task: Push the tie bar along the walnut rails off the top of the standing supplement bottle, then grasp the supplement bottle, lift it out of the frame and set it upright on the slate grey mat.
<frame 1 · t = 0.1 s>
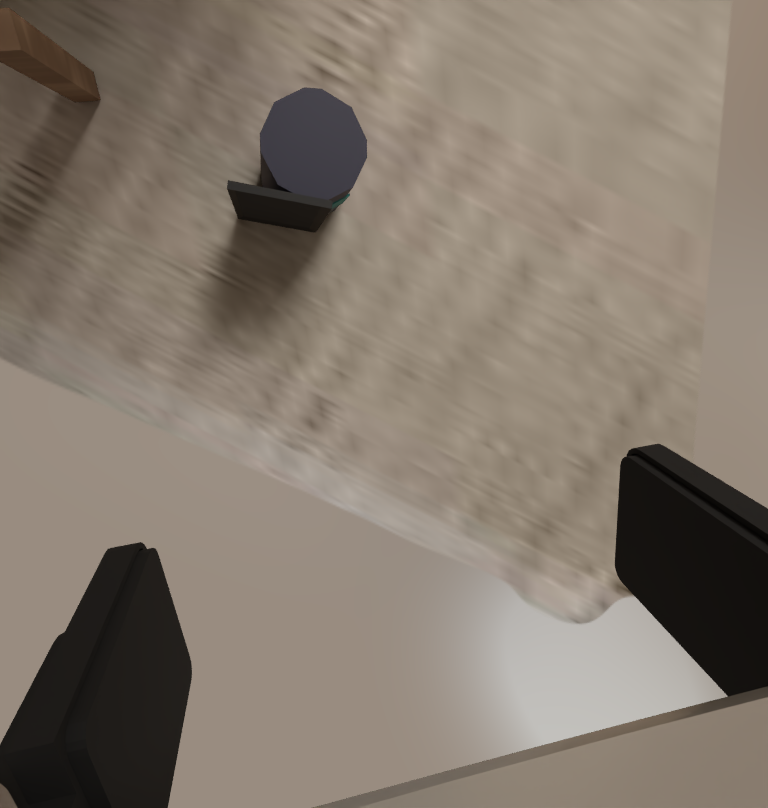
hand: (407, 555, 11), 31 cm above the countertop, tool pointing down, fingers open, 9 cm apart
speaker: (293, 174, 36), on the countertop
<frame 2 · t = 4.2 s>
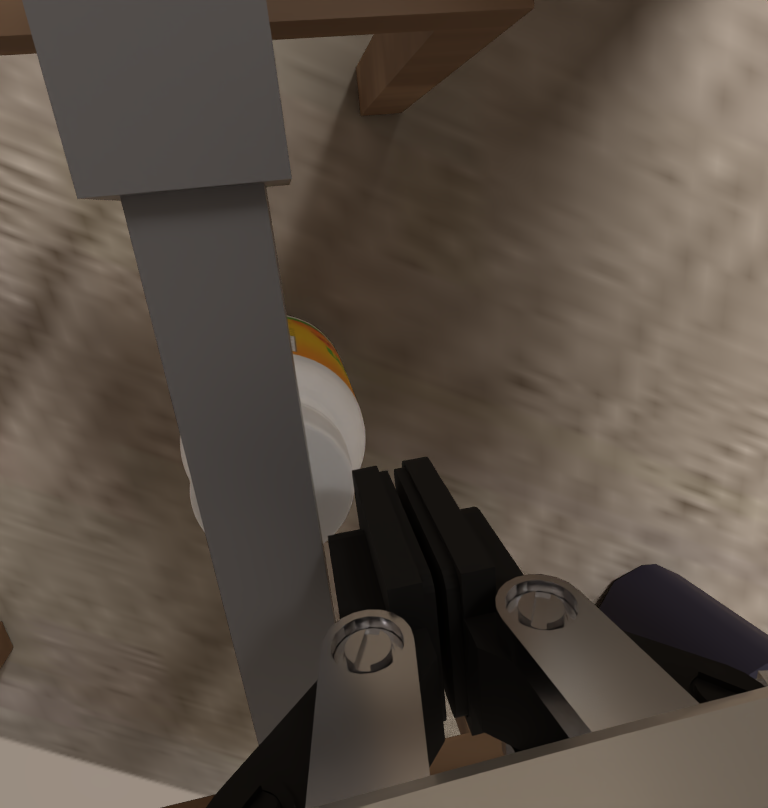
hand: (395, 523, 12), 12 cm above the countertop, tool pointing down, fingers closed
supplement bottle: (277, 375, 22), on the countertop
speaker: (626, 601, 30), on the countertop
tie bar: (272, 559, 11), point 12 cm above the countertop, slide at 0.0 cm, touching gripper
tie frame: (163, 393, 21), on the countertop
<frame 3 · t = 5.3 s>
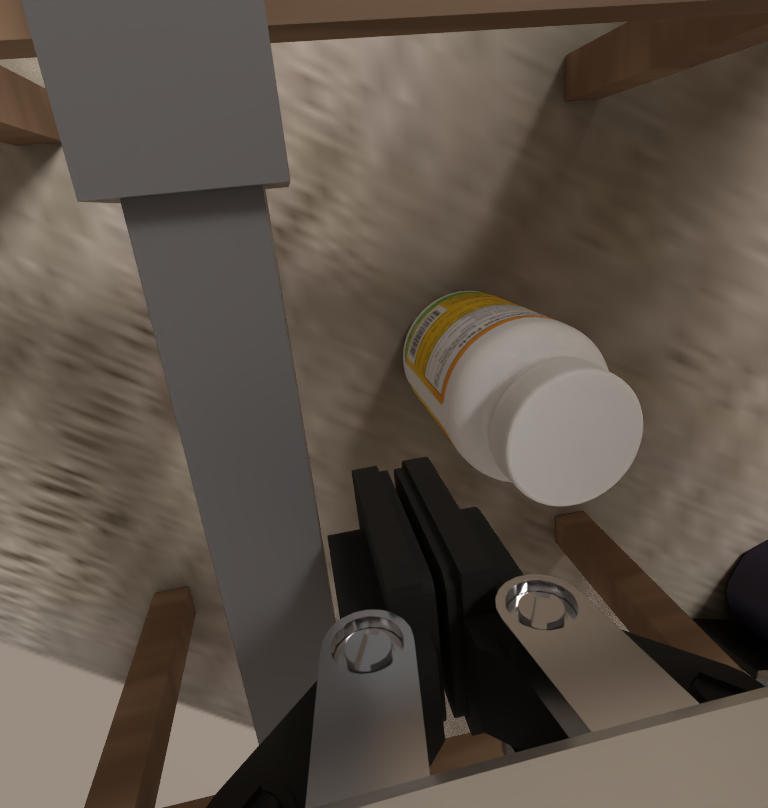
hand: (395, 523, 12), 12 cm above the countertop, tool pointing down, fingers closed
supplement bottle: (460, 350, 23), on the countertop
speaker: (751, 574, 31), on the countertop
tie bar: (272, 560, 11), point 12 cm above the countertop, slide at 7.9 cm, touching gripper
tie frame: (359, 366, 22), on the countertop
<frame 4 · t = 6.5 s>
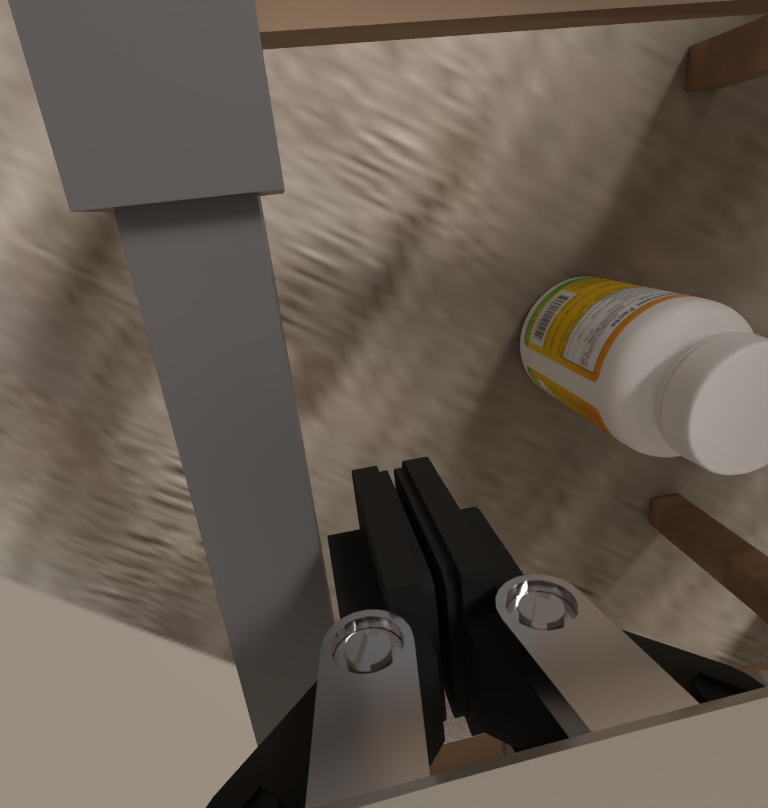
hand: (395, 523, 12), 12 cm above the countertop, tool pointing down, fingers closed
supplement bottle: (571, 335, 24), on the countertop
tie bar: (271, 567, 11), point 12 cm above the countertop, slide at 13.2 cm, touching gripper
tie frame: (477, 351, 23), on the countertop
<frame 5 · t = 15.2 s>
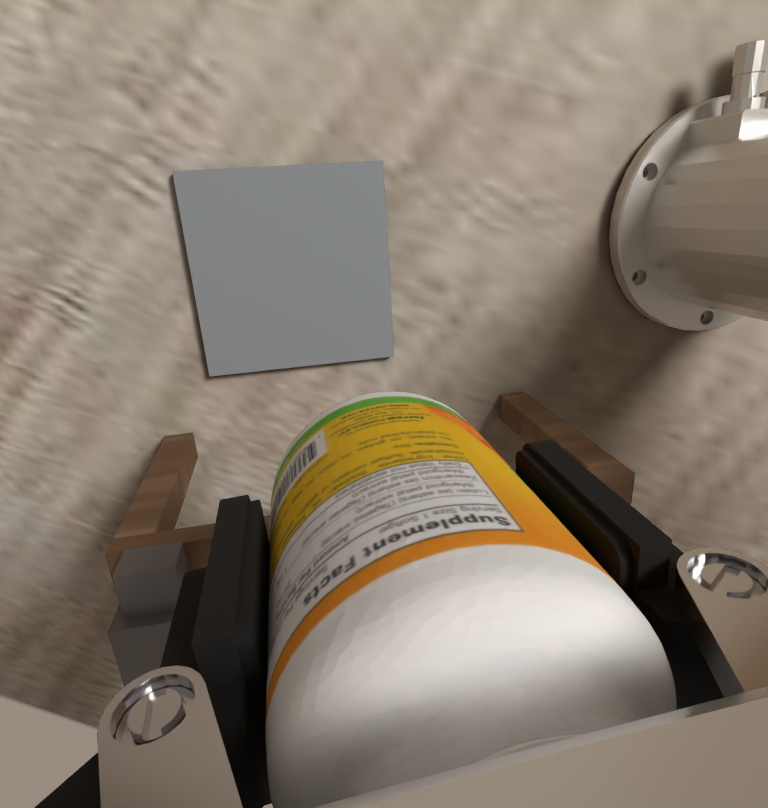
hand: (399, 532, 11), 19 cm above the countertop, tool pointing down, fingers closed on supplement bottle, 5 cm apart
supplement bottle: (381, 485, 13), point 17 cm above the countertop, touching gripper
slate mat: (293, 271, 28), on the countertop
tie bar: (204, 784, 22), point 12 cm above the countertop, slide at 13.2 cm
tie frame: (366, 566, 35), on the countertop
when the fingers open (4 cm above the countertop, at t = 18.9 s): supplement bottle drops 1 cm, resting on slate mat.
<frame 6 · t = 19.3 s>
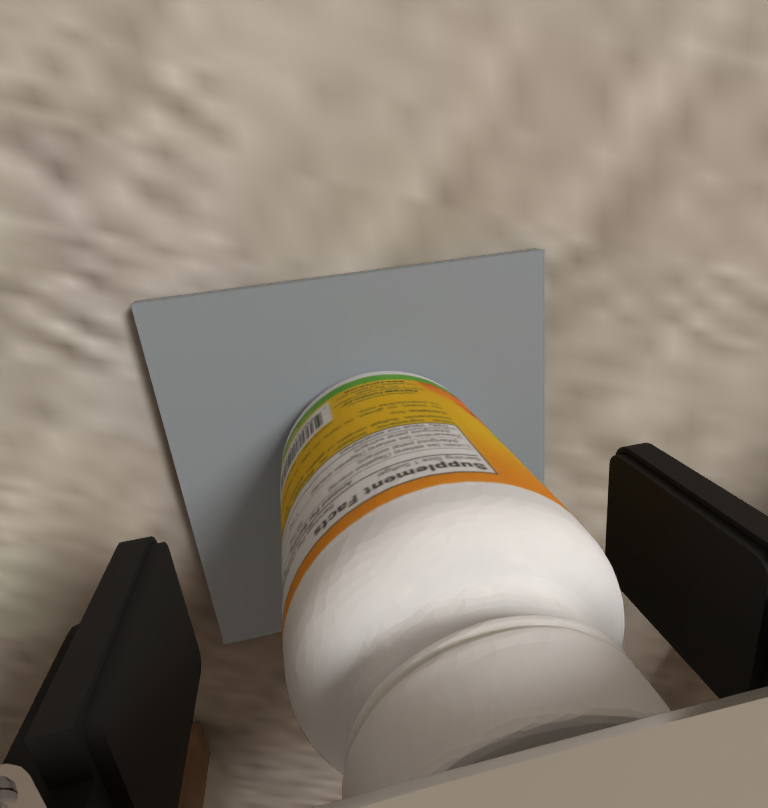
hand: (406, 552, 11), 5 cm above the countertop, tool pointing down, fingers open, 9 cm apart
supplement bottle: (379, 457, 15), resting on slate mat
slate mat: (369, 454, 15), on the countertop
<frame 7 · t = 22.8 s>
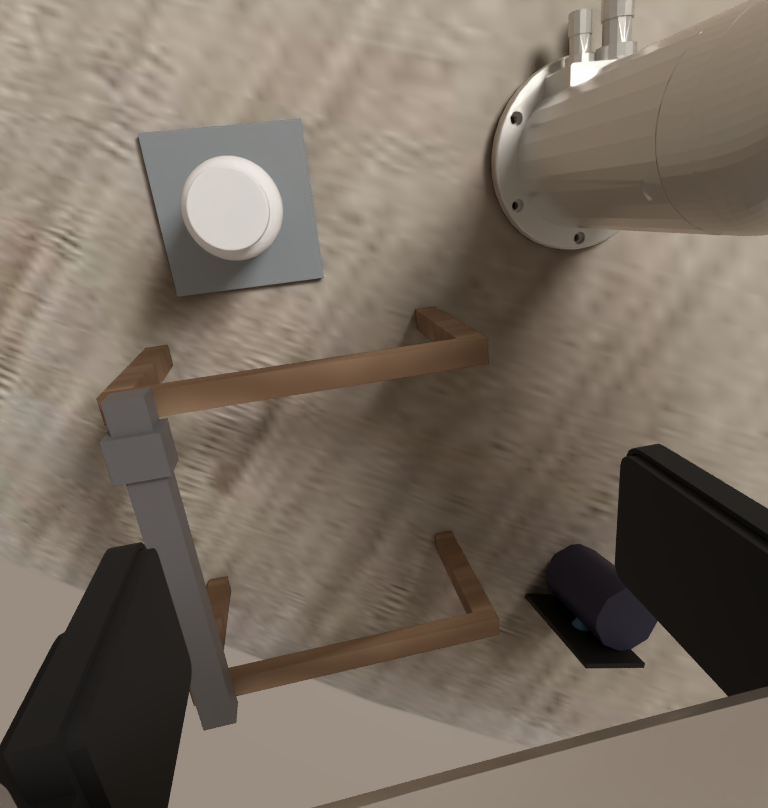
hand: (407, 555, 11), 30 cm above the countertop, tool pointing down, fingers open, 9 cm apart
supplement bottle: (241, 210, 35), resting on slate mat
speaker: (564, 566, 51), on the countertop
slate mat: (237, 210, 36), on the countertop
tie bar: (179, 578, 30), point 12 cm above the countertop, slide at 13.2 cm
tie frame: (317, 458, 43), on the countertop
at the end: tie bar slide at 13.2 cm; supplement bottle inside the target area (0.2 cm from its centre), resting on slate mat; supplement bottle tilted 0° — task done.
